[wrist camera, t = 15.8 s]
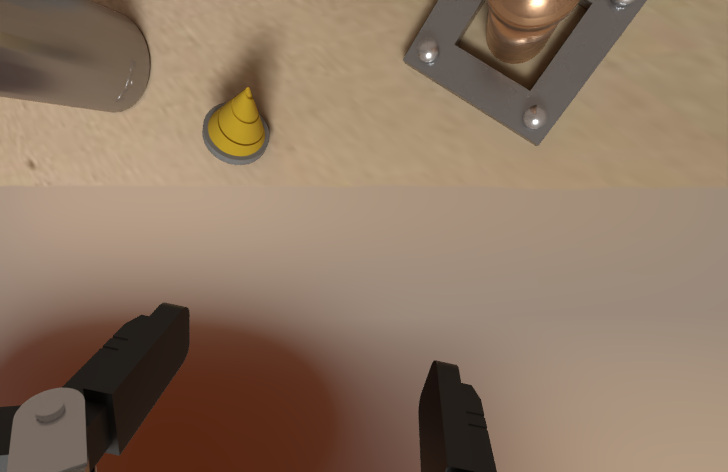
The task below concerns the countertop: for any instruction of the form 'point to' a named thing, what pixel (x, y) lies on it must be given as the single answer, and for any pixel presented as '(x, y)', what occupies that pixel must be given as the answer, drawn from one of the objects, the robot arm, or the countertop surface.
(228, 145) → the drill bit
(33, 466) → the robot arm
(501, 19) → the pipe stub
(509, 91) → the flange
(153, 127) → the countertop surface
